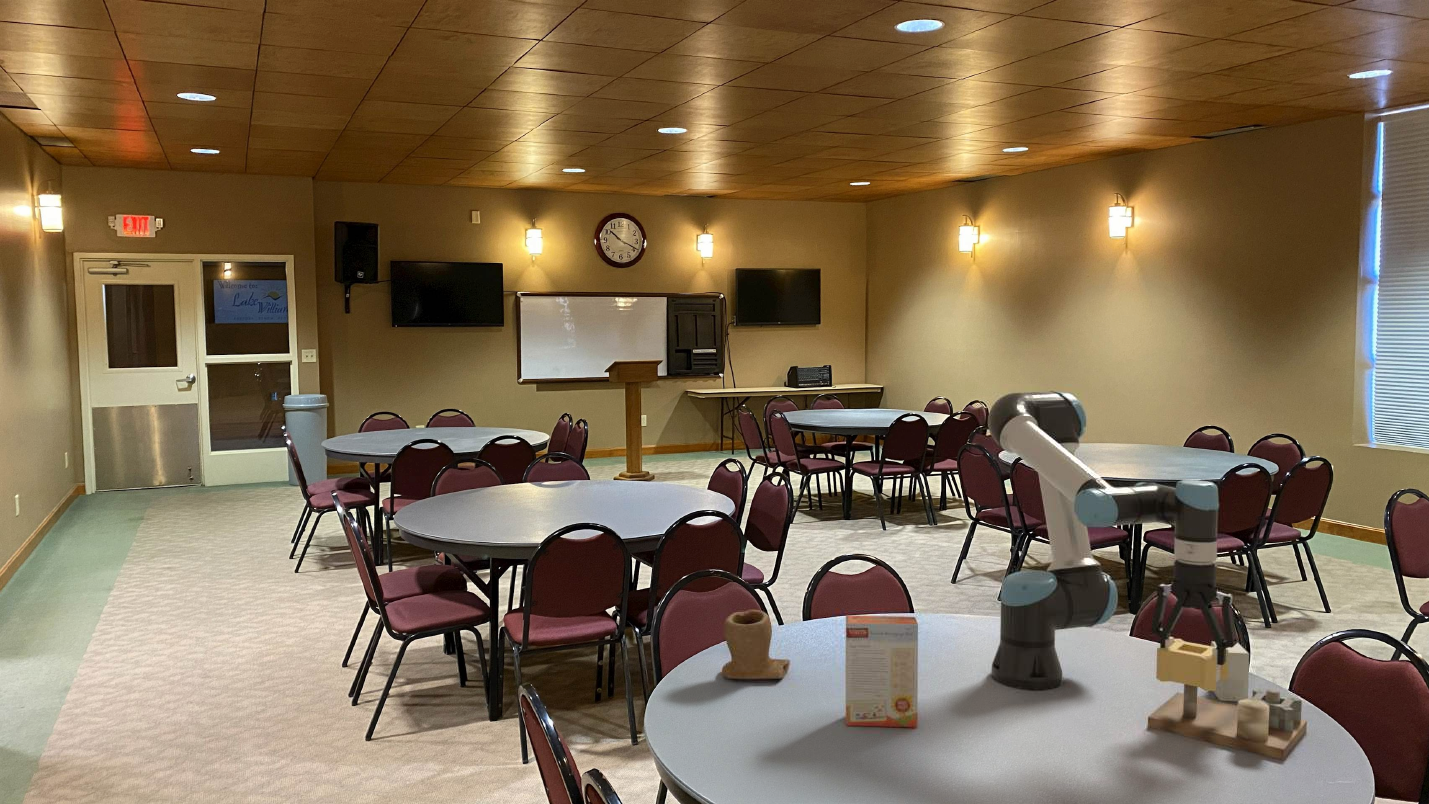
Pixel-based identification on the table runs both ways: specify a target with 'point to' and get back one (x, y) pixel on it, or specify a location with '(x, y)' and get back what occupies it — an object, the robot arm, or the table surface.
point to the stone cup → (751, 647)
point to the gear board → (1235, 721)
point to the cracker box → (881, 671)
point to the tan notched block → (1189, 665)
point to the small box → (1234, 675)
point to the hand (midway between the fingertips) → (1191, 675)
